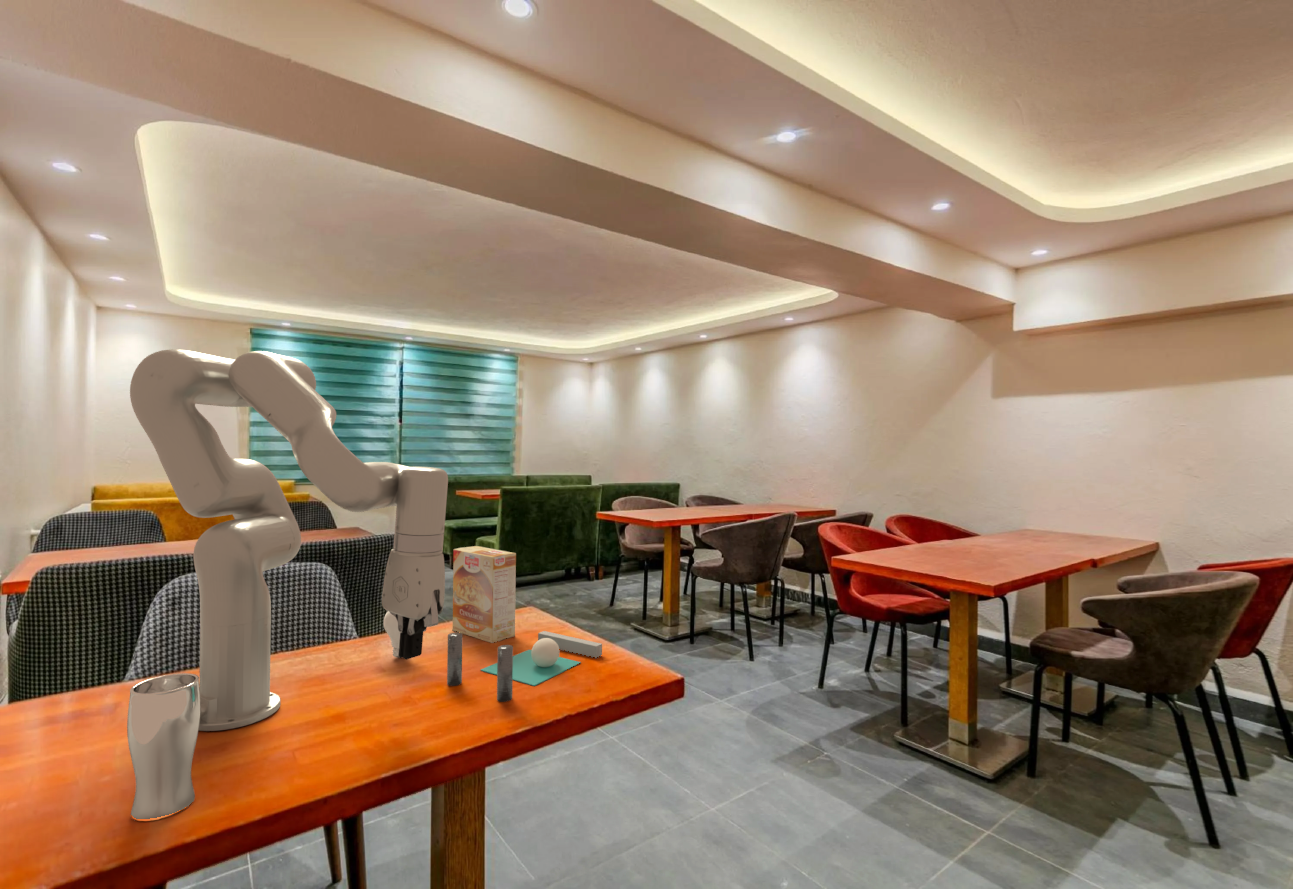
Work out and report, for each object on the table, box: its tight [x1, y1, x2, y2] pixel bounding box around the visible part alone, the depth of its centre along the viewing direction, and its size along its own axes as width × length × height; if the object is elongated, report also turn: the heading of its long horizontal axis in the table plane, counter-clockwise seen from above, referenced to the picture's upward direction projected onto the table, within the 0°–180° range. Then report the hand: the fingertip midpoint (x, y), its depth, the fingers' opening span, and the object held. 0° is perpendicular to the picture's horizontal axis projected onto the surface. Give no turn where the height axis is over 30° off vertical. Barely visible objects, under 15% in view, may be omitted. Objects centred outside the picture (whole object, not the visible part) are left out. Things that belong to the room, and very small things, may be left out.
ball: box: [531, 638, 561, 667], centre depth 121 cm, size 6×6×6 cm
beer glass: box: [126, 672, 201, 819], centre depth 73 cm, size 7×7×15 cm
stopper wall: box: [537, 630, 603, 659], centre depth 131 cm, size 2×16×2 cm, turn 59°
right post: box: [496, 644, 514, 703], centre depth 105 cm, size 3×3×9 cm
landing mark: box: [480, 649, 582, 687], centre depth 120 cm, size 14×14×1 cm
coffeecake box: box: [451, 545, 517, 644], centre depth 141 cm, size 15×7×20 cm, turn 53°
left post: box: [446, 632, 463, 687], centre depth 112 cm, size 3×3×9 cm
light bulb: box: [382, 611, 418, 659], centre depth 125 cm, size 7×7×11 cm
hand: (410, 656), depth 97 cm, fingers closed
